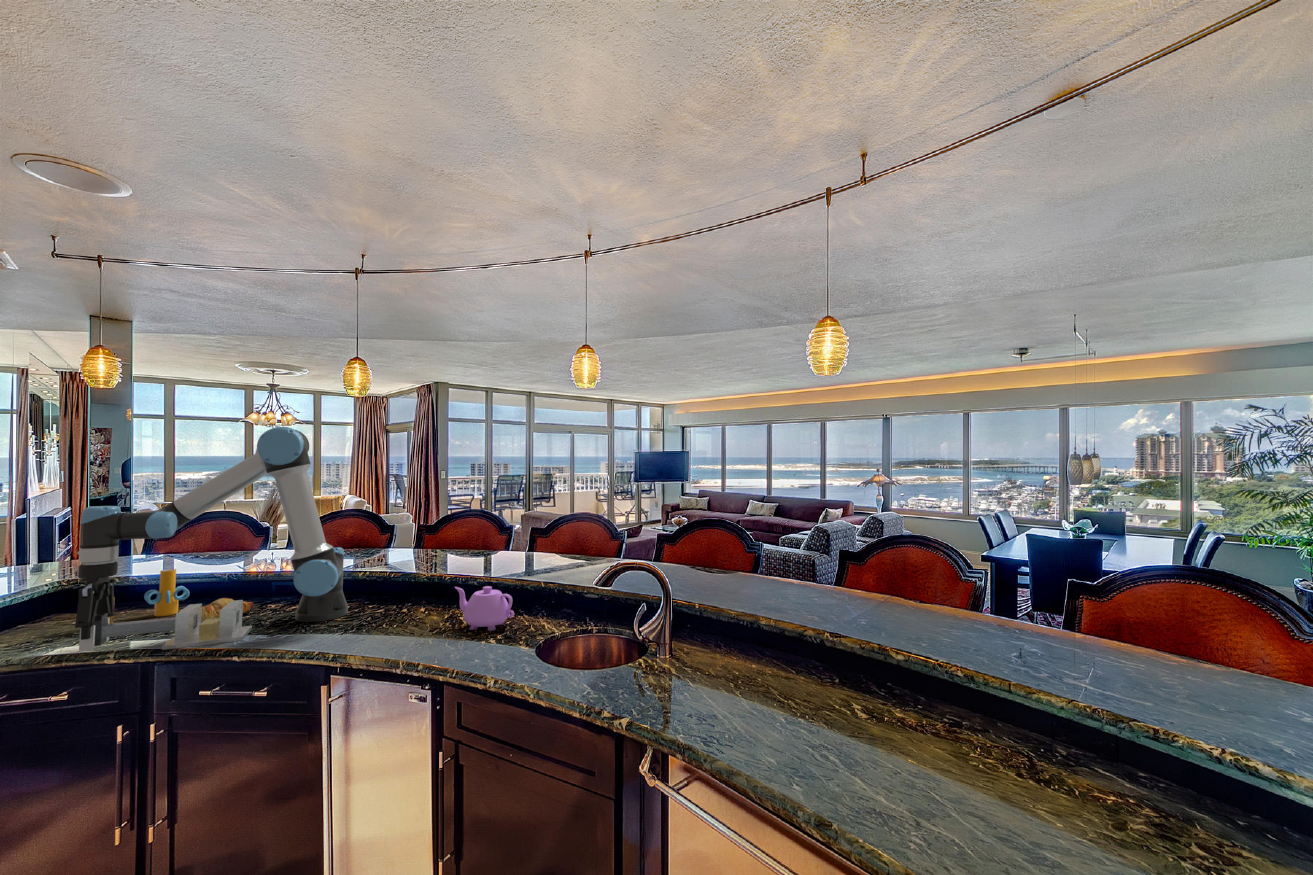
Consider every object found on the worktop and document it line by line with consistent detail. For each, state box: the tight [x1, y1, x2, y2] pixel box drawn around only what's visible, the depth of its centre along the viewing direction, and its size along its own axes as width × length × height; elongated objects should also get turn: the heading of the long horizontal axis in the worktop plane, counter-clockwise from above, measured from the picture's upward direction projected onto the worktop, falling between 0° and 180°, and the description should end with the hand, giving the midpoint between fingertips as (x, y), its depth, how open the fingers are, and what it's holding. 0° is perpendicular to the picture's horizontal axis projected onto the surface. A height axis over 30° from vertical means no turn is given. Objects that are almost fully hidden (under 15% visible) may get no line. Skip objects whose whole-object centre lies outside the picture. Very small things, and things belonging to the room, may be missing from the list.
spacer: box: [199, 618, 220, 639], centre depth 157 cm, size 4×6×4 cm
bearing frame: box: [161, 599, 253, 651], centre depth 157 cm, size 18×12×9 cm, turn 116°
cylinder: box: [143, 568, 190, 617], centre depth 182 cm, size 12×10×15 cm
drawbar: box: [93, 613, 196, 647], centre depth 150 cm, size 23×3×8 cm, turn 116°
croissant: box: [201, 597, 255, 623], centre depth 177 cm, size 21×10×8 cm, turn 160°
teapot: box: [454, 585, 515, 632], centre depth 171 cm, size 20×14×12 cm
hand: (94, 645), depth 145 cm, fingers open, 7 cm apart
